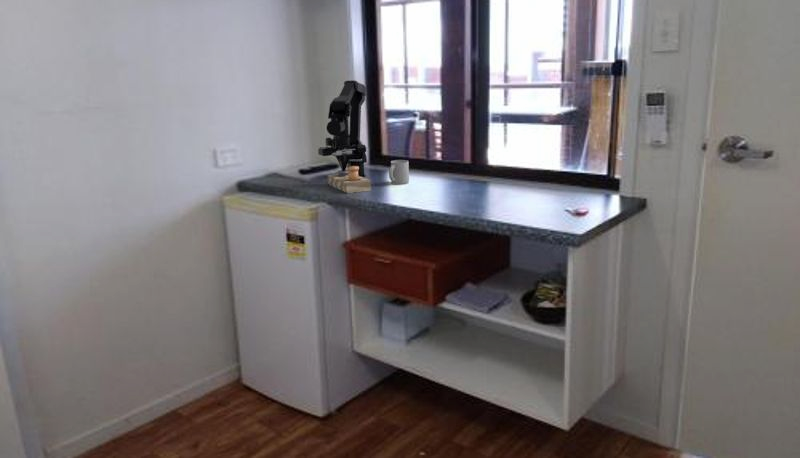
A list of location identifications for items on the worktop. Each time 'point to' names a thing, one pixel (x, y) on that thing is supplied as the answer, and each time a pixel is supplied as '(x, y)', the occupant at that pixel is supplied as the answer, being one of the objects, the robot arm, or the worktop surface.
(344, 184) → the housing
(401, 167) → the cup
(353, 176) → the mushroom knob terracotta
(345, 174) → the grey mushroom knob
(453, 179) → the worktop surface
